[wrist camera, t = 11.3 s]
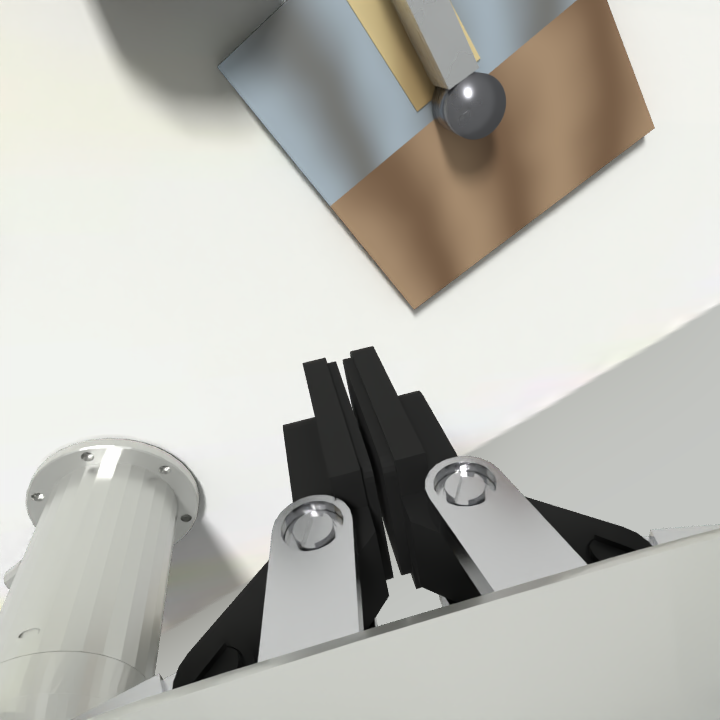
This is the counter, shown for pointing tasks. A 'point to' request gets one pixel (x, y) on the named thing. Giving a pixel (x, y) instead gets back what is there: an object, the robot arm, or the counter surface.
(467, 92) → the bar
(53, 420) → the counter surface
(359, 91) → the latch board
